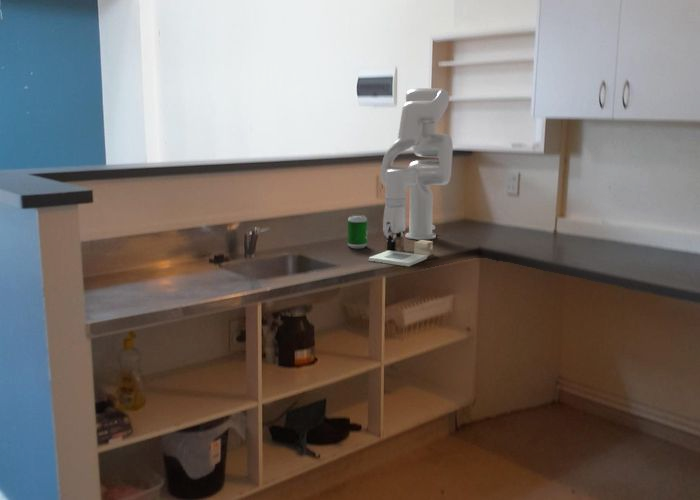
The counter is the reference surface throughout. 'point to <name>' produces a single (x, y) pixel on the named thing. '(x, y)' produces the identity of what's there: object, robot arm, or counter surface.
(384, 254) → the build board
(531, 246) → the counter surface
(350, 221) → the soda can
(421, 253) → the maple cube
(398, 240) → the walnut cube
